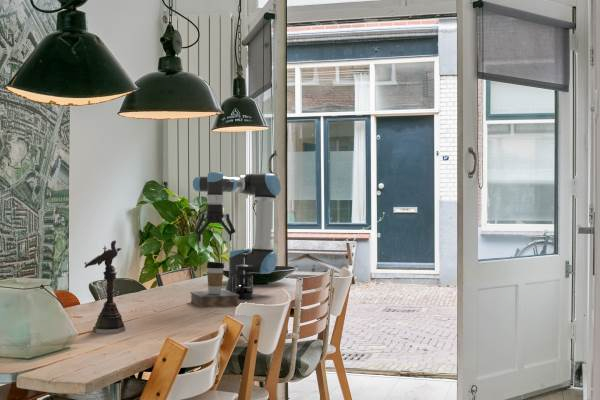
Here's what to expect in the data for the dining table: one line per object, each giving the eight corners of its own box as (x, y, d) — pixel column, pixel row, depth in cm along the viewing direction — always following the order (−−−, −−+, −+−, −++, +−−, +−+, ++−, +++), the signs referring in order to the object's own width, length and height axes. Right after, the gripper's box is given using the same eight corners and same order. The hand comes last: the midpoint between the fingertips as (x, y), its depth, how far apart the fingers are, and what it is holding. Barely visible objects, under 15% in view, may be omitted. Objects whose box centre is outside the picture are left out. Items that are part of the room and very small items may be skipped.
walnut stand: (227, 300, 361) (227, 290, 361) (239, 305, 344) (239, 295, 344) (189, 301, 354) (190, 291, 354) (200, 307, 336) (201, 296, 336)
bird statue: (73, 332, 270) (74, 239, 270) (90, 326, 283) (92, 237, 283) (114, 335, 267) (115, 240, 266) (130, 329, 279) (131, 238, 279)
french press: (255, 297, 372) (256, 253, 372) (252, 300, 363) (252, 254, 363) (233, 296, 374) (234, 252, 374) (229, 299, 365) (229, 253, 365)
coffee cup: (207, 292, 353) (208, 261, 354) (225, 292, 353) (225, 261, 353) (204, 294, 345) (204, 262, 345) (221, 294, 344) (222, 263, 344)
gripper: (192, 204, 341) (191, 248, 342) (241, 204, 352) (241, 247, 352) (187, 203, 348) (187, 247, 348) (236, 203, 359) (236, 246, 359)
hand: (214, 247), depth 350 cm, fingers open, 13 cm apart
